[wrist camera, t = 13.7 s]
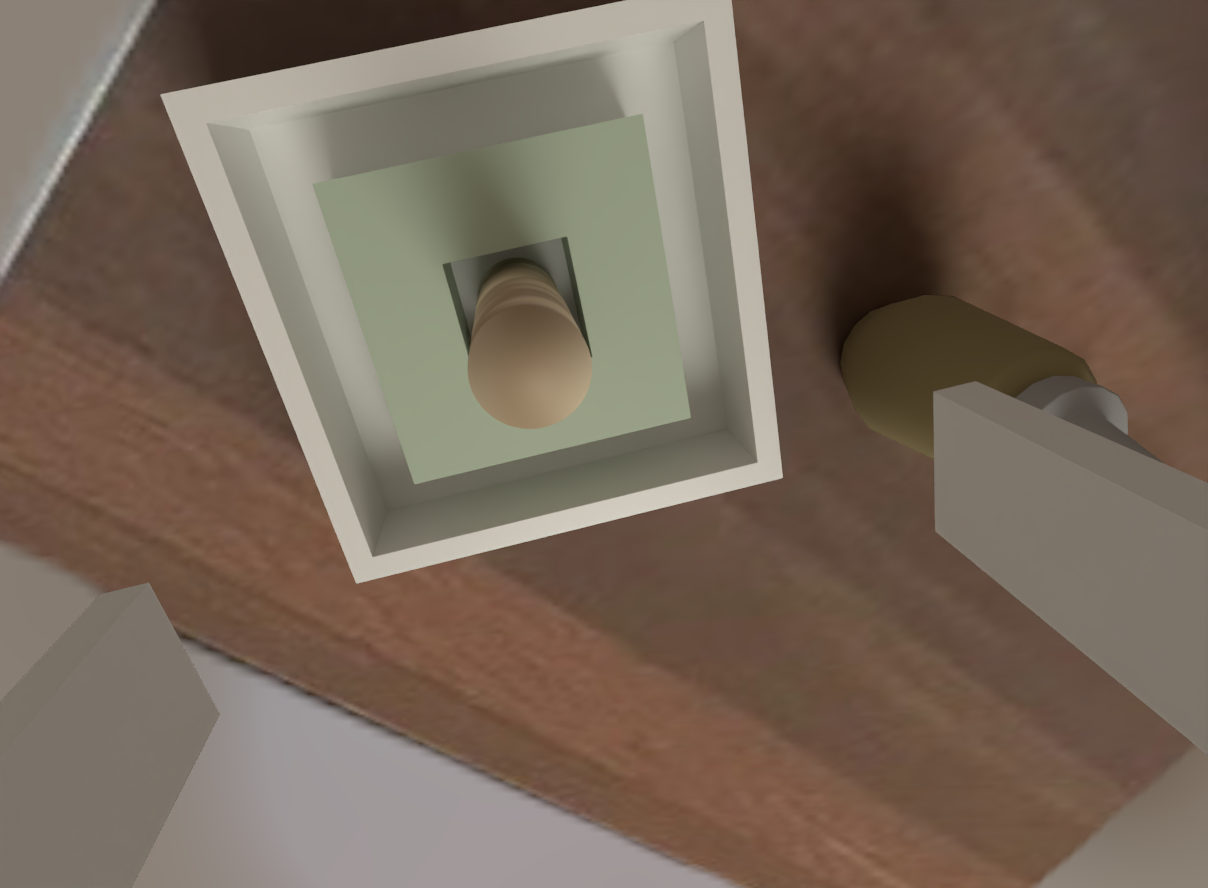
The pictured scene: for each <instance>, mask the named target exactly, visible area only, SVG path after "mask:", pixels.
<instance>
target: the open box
mask: <svg viewBox="0 0 1208 888" xmlns="http://www.w3.org/2000/svg"><path fill="white" fill-rule="evenodd" d="M160 95H161V97H162V100H163V102H164V105H165V107H166V110H167V112H168V115H169V117H170V120H171V122H172V125H173V127H174V130H175V132H176V135H177V137H178V140H179V142H180V145H181V147H182V150H183V152H184V155H185V157H186V160H187V162H188V165H189V167H190V170H191V172H192V175H193V177H194V180H195V182H196V185H197V187H198V190H199V192H200V195H201V197H202V200H203V202H204V205H205V207H206V210H207V212H208V215H209V217H210V220H211V222H212V225H213V227H214V230H215V232H216V235H217V237H218V240H219V242H220V245H221V247H222V250H223V252H224V255H225V257H226V260H227V262H228V265H229V267H230V270H231V272H232V275H233V277H234V280H235V282H236V285H237V287H238V290H239V292H240V295H241V297H242V300H243V302H244V305H245V307H246V310H247V312H248V315H249V317H250V320H251V322H252V325H253V327H254V330H255V332H256V335H257V337H258V340H259V342H260V345H261V347H262V350H263V352H264V355H265V357H266V359H267V362H268V364H269V367H270V369H271V372H272V374H273V377H274V379H275V382H276V384H277V387H278V389H279V392H280V394H281V397H282V399H283V402H284V404H285V407H286V409H287V412H288V414H289V417H290V419H291V422H292V424H293V427H294V429H295V432H296V434H297V437H298V439H299V442H300V444H301V447H302V449H303V452H304V454H305V457H306V459H307V462H308V464H309V467H310V469H311V472H312V474H313V477H314V479H315V482H316V484H317V487H318V489H319V492H320V494H321V497H322V499H323V502H324V504H325V507H326V509H327V512H328V514H329V517H330V519H331V522H332V524H333V527H334V529H335V532H336V534H337V537H338V539H339V542H340V544H341V547H342V549H343V552H344V554H345V557H346V559H347V562H348V564H349V567H350V569H351V572H352V574H353V577H354V579H355V582H356V584H357V583H361V582H365V581H369V580H373V579H377V578H381V577H385V576H389V575H393V574H397V573H401V572H405V571H409V570H413V569H417V568H421V567H426V566H430V565H434V564H438V563H442V562H446V561H450V560H454V559H458V558H462V557H466V556H470V555H474V554H478V553H482V552H486V551H490V550H494V549H498V548H502V547H506V546H510V545H514V544H518V543H522V542H526V541H530V540H534V539H539V538H543V537H547V536H551V535H555V534H559V533H563V532H567V531H571V530H575V529H579V528H583V527H587V526H591V525H595V524H599V523H603V522H607V521H611V520H615V519H619V518H623V517H627V516H631V515H635V514H639V513H643V512H647V511H651V510H656V509H660V508H664V507H668V506H672V505H676V504H680V503H684V502H688V501H692V500H696V499H700V498H704V497H708V496H712V495H716V494H720V493H724V492H728V491H732V490H736V489H740V488H744V487H748V486H752V485H756V484H760V483H764V482H769V481H773V480H777V479H781V478H783V475H782V465H781V456H780V447H779V438H778V428H777V419H776V410H775V400H774V391H773V382H772V373H771V363H770V354H769V345H768V335H767V326H766V317H765V307H764V298H763V289H762V280H761V270H760V261H759V252H758V242H757V233H756V224H755V215H754V205H753V196H752V187H751V177H750V168H749V159H748V150H747V140H746V131H745V122H744V112H743V103H742V94H741V85H740V75H739V66H738V57H737V47H736V38H735V29H734V19H733V10H732V1H731V0H625V1H620V2H615V3H610V4H605V5H600V6H595V7H590V8H585V9H580V10H575V11H570V12H565V13H561V14H556V15H551V16H546V17H541V18H536V19H531V20H526V21H521V22H516V23H511V24H506V25H501V26H496V27H491V28H486V29H481V30H477V31H472V32H467V33H462V34H457V35H452V36H447V37H442V38H437V39H432V40H427V41H422V42H417V43H412V44H407V45H402V46H397V47H393V48H388V49H383V50H378V51H373V52H368V53H363V54H358V55H353V56H348V57H343V58H338V59H333V60H328V61H323V62H318V63H313V64H309V65H304V66H299V67H294V68H289V69H284V70H279V71H274V72H269V73H264V74H259V75H254V76H249V77H244V78H239V79H234V80H229V81H225V82H220V83H215V84H210V85H205V86H200V87H195V88H190V89H185V90H180V91H175V92H170V93H165V94H160ZM639 114H643V119H644V125H645V131H646V138H647V144H648V150H649V157H650V163H651V169H652V175H653V182H654V188H655V194H656V201H657V207H658V213H659V219H660V226H661V232H662V238H663V245H664V251H665V257H666V263H667V270H668V276H669V282H670V289H671V295H672V301H673V308H674V314H675V320H676V326H677V333H678V339H679V345H680V352H681V358H682V364H683V370H684V377H685V383H686V389H687V396H688V402H689V408H690V414H691V418H689V419H685V420H680V421H676V422H672V423H668V424H664V425H660V426H656V427H651V428H647V429H643V430H639V431H635V432H631V433H626V434H622V435H618V436H614V437H610V438H606V439H601V440H597V441H593V442H589V443H585V444H581V445H577V446H572V447H568V448H564V449H560V450H556V451H552V452H547V453H543V454H539V455H535V456H531V457H527V458H522V459H518V460H514V461H510V462H506V463H502V464H498V465H493V466H489V467H485V468H481V469H477V470H473V471H468V472H464V473H460V474H456V475H452V476H448V477H443V478H439V479H435V480H431V481H427V482H423V483H419V484H414V482H413V479H412V476H411V473H410V470H409V467H408V464H407V461H406V458H405V455H404V453H403V450H402V447H401V444H400V441H399V438H398V435H397V432H396V429H395V426H394V423H393V420H392V417H391V414H390V411H389V408H388V405H387V402H386V399H385V397H384V394H383V391H382V388H381V385H380V382H379V379H378V376H377V373H376V370H375V367H374V364H373V361H372V358H371V355H370V352H369V349H368V346H367V344H366V341H365V338H364V335H363V332H362V329H361V326H360V323H359V320H358V317H357V314H356V311H355V308H354V305H353V302H352V299H351V296H350V293H349V290H348V288H347V285H346V282H345V279H344V276H343V273H342V270H341V267H340V264H339V261H338V258H337V255H336V252H335V249H334V246H333V243H332V240H331V237H330V234H329V232H328V229H327V226H326V223H325V220H324V217H323V214H322V211H321V208H320V205H319V202H318V199H317V196H316V193H315V190H314V187H313V184H314V183H319V182H324V181H328V180H333V179H338V178H343V177H347V176H352V175H357V174H361V173H366V172H371V171H376V170H380V169H385V168H390V167H394V166H399V165H404V164H408V163H413V162H418V161H423V160H427V159H432V158H437V157H441V156H446V155H451V154H455V153H460V152H465V151H470V150H474V149H479V148H484V147H488V146H493V145H498V144H502V143H507V142H512V141H517V140H521V139H526V138H531V137H535V136H540V135H545V134H549V133H554V132H559V131H564V130H568V129H573V128H578V127H582V126H587V125H592V124H597V123H601V122H606V121H611V120H615V119H620V118H625V117H629V116H634V115H639ZM509 258H525V259H529V260H532V261H534V262H536V263H538V264H540V265H541V266H542V267H543V268H545V269H546V270H547V272H548V273H549V274H550V275H551V277H552V279H553V280H554V282H555V284H556V286H557V288H558V290H559V292H560V294H561V296H562V298H563V299H564V301H565V303H566V305H567V307H568V309H569V311H570V313H571V315H572V317H573V319H574V320H575V322H576V324H577V326H578V328H579V330H580V332H581V328H580V323H579V319H578V314H577V309H576V305H575V300H574V295H573V291H572V286H571V281H570V277H569V272H568V267H567V263H566V258H565V253H564V248H563V244H562V239H561V238H558V239H553V240H549V241H544V242H540V243H535V244H531V245H526V246H522V247H517V248H513V249H508V250H504V251H499V252H495V253H490V254H486V255H481V256H477V257H472V258H468V259H463V260H459V261H454V262H450V263H451V267H452V270H453V274H454V278H455V281H456V285H457V288H458V292H459V296H460V299H461V303H462V306H463V310H464V313H465V317H466V321H467V324H468V328H469V331H470V335H471V337H472V331H473V324H474V318H475V311H476V305H477V298H478V292H479V287H480V283H481V281H482V279H483V277H484V275H485V274H486V272H487V271H488V270H489V269H490V268H491V267H492V266H494V265H495V264H497V263H498V262H500V261H502V260H505V259H509ZM581 334H582V333H581Z"/></svg>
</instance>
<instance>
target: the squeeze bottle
mask: <svg viewBox="0 0 1208 888" xmlns="http://www.w3.org/2000/svg"><path fill="white" fill-rule="evenodd" d="M840 366H841V371H842V375H843V380H844V383H845V386H846V388H847V391H848V393H849V396H850V398H851V401H852V403H853V406H854V408H855V410H856V411H857V413H858V414H859V415H860V417H861V418H862V419H863V420H864V422H865V423H866V424H867V426H868V427H869V428H870V429H871V430H873V431H875V432H877V433H879V434H882V435H884V436H886V437H888V438H890V439H892V440H894V441H896V442H899V443H901V444H903V445H905V446H907V447H909V448H911V449H913V450H915V451H918V452H920V453H922V454H924V455H926V456H928V457H930V458H932V459H934V415H933V391H937V390H941V389H946V388H950V387H954V386H958V385H962V384H966V383H970V382H974V381H977V382H979V383H981V384H983V385H986V386H988V387H990V388H993V389H995V390H997V391H999V392H1002V393H1004V394H1006V395H1009V396H1011V397H1013V398H1015V399H1018V400H1020V401H1022V402H1024V403H1027V404H1029V405H1031V406H1034V407H1036V408H1038V409H1040V410H1043V411H1045V412H1047V413H1050V414H1052V415H1054V416H1056V417H1059V418H1061V419H1063V420H1065V421H1068V422H1070V423H1072V424H1075V425H1077V426H1079V427H1081V428H1084V429H1086V430H1088V431H1091V432H1093V433H1095V434H1097V435H1100V436H1102V437H1104V438H1106V439H1109V440H1111V441H1113V442H1116V443H1118V444H1120V445H1122V446H1125V447H1127V448H1129V449H1131V450H1134V451H1136V452H1138V453H1141V454H1143V455H1145V456H1147V457H1150V458H1152V459H1154V460H1157V461H1159V462H1161V463H1163V462H1162V461H1160V460H1159V459H1158V458H1156V457H1155V456H1154V455H1153V454H1151V453H1150V452H1149V451H1147V450H1146V449H1145V448H1143V447H1142V446H1141V445H1139V444H1138V443H1137V442H1136V441H1134V440H1133V439H1132V438H1130V437H1129V436H1128V435H1127V434H1128V420H1127V410H1126V408H1125V406H1124V405H1123V403H1122V401H1121V399H1120V397H1119V396H1118V395H1117V394H1115V393H1113V392H1112V391H1110V390H1108V389H1106V388H1104V387H1103V386H1100V385H1097V381H1096V379H1095V377H1094V376H1093V374H1092V372H1091V370H1090V369H1089V367H1088V365H1087V363H1086V362H1085V360H1084V359H1082V358H1081V357H1079V356H1077V355H1075V354H1074V353H1072V352H1070V351H1068V350H1067V349H1065V348H1063V347H1061V346H1059V345H1057V344H1054V343H1052V342H1050V341H1048V340H1046V339H1044V338H1042V337H1039V336H1037V335H1035V334H1033V333H1031V332H1029V331H1027V330H1025V329H1022V328H1020V327H1018V326H1016V325H1014V324H1012V323H1010V322H1007V321H1005V320H1003V319H1001V318H999V317H997V316H995V315H992V314H990V313H988V312H986V311H984V310H982V309H980V308H977V307H975V306H973V305H971V304H969V303H967V302H965V301H962V300H960V299H958V298H956V297H954V296H939V295H923V296H919V297H915V298H911V299H908V300H904V301H900V302H896V303H893V304H889V305H886V306H884V307H881V308H878V309H876V310H873V311H870V312H869V313H868V314H867V315H866V316H865V317H863V318H862V319H861V320H860V321H859V322H858V323H856V324H855V325H854V327H853V328H852V330H851V332H850V334H849V335H848V337H847V339H846V340H845V342H844V344H843V350H842V355H841V360H840ZM1163 464H1164V463H1163Z"/></svg>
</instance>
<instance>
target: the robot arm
mask: <svg viewBox="0 0 1208 888" xmlns="http://www.w3.org/2000/svg"><path fill="white" fill-rule="evenodd" d="M933 415H934V485H935V531H936V532H937V533H938V534H939V535H940V536H942V537H943V538H944V539H945V540H947V541H948V542H949V543H950V544H951V545H953V546H954V547H955V548H956V549H958V550H959V551H960V552H961V553H962V554H964V555H965V556H966V557H967V558H968V559H970V560H971V561H972V562H973V563H975V564H976V565H977V566H978V567H979V568H981V569H982V570H983V571H984V572H986V573H987V574H988V575H989V576H990V577H992V578H993V579H994V580H995V581H996V582H998V583H999V584H1000V585H1001V586H1003V587H1004V588H1005V589H1006V590H1007V591H1009V592H1010V593H1011V594H1012V595H1013V596H1015V597H1016V598H1017V599H1018V600H1020V601H1021V602H1022V603H1023V604H1024V605H1026V606H1027V607H1028V608H1029V609H1031V610H1032V611H1033V612H1034V613H1035V614H1037V615H1038V616H1039V617H1040V618H1041V619H1043V620H1044V621H1045V622H1046V623H1048V624H1049V625H1050V626H1051V627H1052V628H1054V629H1055V630H1056V631H1057V632H1059V633H1060V634H1061V635H1062V636H1063V637H1065V638H1066V639H1067V640H1068V641H1069V642H1071V643H1072V644H1073V645H1074V646H1076V647H1077V648H1078V649H1079V650H1080V651H1082V652H1083V653H1084V654H1085V655H1087V656H1088V657H1089V658H1090V659H1091V660H1093V661H1094V662H1095V663H1096V664H1097V665H1099V666H1100V667H1101V668H1102V669H1104V670H1105V671H1106V672H1107V673H1108V674H1110V675H1111V676H1112V677H1113V678H1114V679H1116V680H1117V681H1118V682H1119V683H1121V684H1122V685H1123V686H1124V687H1125V688H1127V689H1128V690H1129V691H1130V692H1132V693H1133V694H1134V695H1135V696H1136V697H1138V698H1139V699H1140V700H1141V701H1142V702H1144V703H1145V704H1146V705H1147V706H1149V707H1150V708H1151V709H1152V710H1153V711H1155V712H1156V713H1157V714H1158V715H1160V716H1161V717H1162V718H1163V719H1164V720H1166V721H1167V722H1168V723H1169V724H1170V725H1172V726H1173V727H1174V728H1175V729H1177V730H1178V731H1179V732H1180V733H1181V734H1183V735H1184V736H1185V737H1186V738H1188V739H1189V740H1190V741H1191V742H1192V743H1194V744H1195V745H1196V746H1197V747H1199V748H1200V749H1201V750H1202V751H1203V752H1205V753H1206V754H1207V755H1208V483H1207V482H1204V481H1202V480H1200V479H1198V478H1195V477H1193V476H1191V475H1188V474H1186V473H1184V472H1182V471H1179V470H1177V469H1175V468H1172V467H1170V466H1168V465H1166V464H1163V463H1161V462H1159V461H1157V460H1154V459H1152V458H1150V457H1147V456H1145V455H1143V454H1141V453H1138V452H1136V451H1134V450H1131V449H1129V448H1127V447H1125V446H1122V445H1120V444H1118V443H1116V442H1113V441H1111V440H1109V439H1106V438H1104V437H1102V436H1100V435H1097V434H1095V433H1093V432H1091V431H1088V430H1086V429H1084V428H1081V427H1079V426H1077V425H1075V424H1072V423H1070V422H1068V421H1065V420H1063V419H1061V418H1059V417H1056V416H1054V415H1052V414H1050V413H1047V412H1045V411H1043V410H1040V409H1038V408H1036V407H1034V406H1031V405H1029V404H1027V403H1024V402H1022V401H1020V400H1018V399H1015V398H1013V397H1011V396H1009V395H1006V394H1004V393H1002V392H999V391H997V390H995V389H993V388H990V387H988V386H986V385H983V384H981V383H979V382H977V381H974V382H970V383H966V384H962V385H958V386H954V387H950V388H946V389H941V390H937V391H933ZM219 715H220V713H219V712H218V710H217V708H216V707H215V704H214V703H213V701H212V699H211V697H210V695H209V693H208V691H207V689H206V687H205V686H204V684H203V682H202V680H201V678H200V676H199V675H198V673H197V671H196V669H195V667H194V665H193V663H192V662H191V660H190V658H189V656H188V654H187V652H186V650H185V649H184V647H183V645H182V643H181V641H180V639H179V637H178V636H177V634H176V632H175V630H174V628H173V626H172V624H171V623H170V621H169V619H168V617H167V615H166V613H165V612H164V610H163V608H162V606H161V604H160V602H159V600H158V599H157V597H156V595H155V593H154V591H153V589H152V587H151V586H150V584H149V583H146V584H141V585H137V586H133V587H129V588H125V589H121V590H117V591H113V592H109V593H105V594H100V595H99V596H98V597H97V598H96V599H95V600H94V601H93V602H92V604H91V605H90V606H89V607H88V608H87V609H86V610H85V611H84V612H83V613H82V615H81V616H79V617H78V618H77V620H76V621H75V622H74V623H73V624H72V625H71V626H70V627H69V628H68V629H67V630H66V631H65V632H64V634H63V635H62V636H61V637H60V638H59V639H58V640H57V641H56V642H55V643H54V644H53V645H52V646H51V647H50V648H49V649H48V651H47V652H46V653H45V654H44V655H43V656H42V657H41V658H40V659H39V660H38V661H37V662H36V663H35V664H34V666H33V667H32V668H31V669H30V670H29V671H28V672H27V673H26V674H25V675H24V676H23V677H22V678H21V679H20V681H19V682H18V683H17V684H16V685H15V686H14V687H13V688H12V689H11V690H10V691H9V692H8V693H7V694H6V696H5V697H4V698H3V699H2V700H1V701H0V888H132V886H133V884H134V882H135V880H136V878H137V876H138V874H139V872H140V870H141V869H142V867H143V865H144V863H145V861H146V858H147V857H148V855H149V853H150V851H151V849H152V847H153V845H154V843H155V841H156V839H157V837H158V835H159V833H160V831H161V829H162V827H163V825H164V823H165V821H166V819H167V817H168V815H169V813H170V812H171V810H172V807H173V806H174V804H175V801H176V800H177V798H178V796H179V794H180V792H181V790H182V788H183V786H184V784H185V782H186V780H187V778H188V776H189V774H190V772H191V770H192V768H193V766H194V764H195V762H196V760H197V758H198V756H199V755H200V752H201V750H202V748H203V747H204V745H205V743H206V741H207V739H208V737H209V735H210V733H211V731H212V729H213V727H214V725H215V723H216V721H217V719H218V717H219Z"/></svg>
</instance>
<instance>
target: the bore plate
mask: <svg viewBox="0 0 1208 888" xmlns="http://www.w3.org/2000/svg"><path fill="white" fill-rule="evenodd" d="M313 187H314V190H315V193H316V196H317V199H318V202H319V205H320V208H321V211H322V214H323V217H324V220H325V223H326V226H327V229H328V232H329V234H330V237H331V240H332V243H333V246H334V249H335V252H336V255H337V258H338V261H339V264H340V267H341V270H342V273H343V276H344V279H345V282H346V285H347V288H348V290H349V293H350V296H351V299H352V302H353V305H354V308H355V311H356V314H357V317H358V320H359V323H360V326H361V329H362V332H363V335H364V338H365V341H366V344H367V346H368V349H369V352H370V355H371V358H372V361H373V364H374V367H375V370H376V373H377V376H378V379H379V382H380V385H381V388H382V391H383V394H384V397H385V399H386V402H387V405H388V408H389V411H390V414H391V417H392V420H393V423H394V426H395V429H396V432H397V435H398V438H399V441H400V444H401V447H402V450H403V453H404V455H405V458H406V461H407V464H408V467H409V470H410V473H411V476H412V479H413V482H414V484H419V483H423V482H427V481H431V480H435V479H439V478H443V477H448V476H452V475H456V474H460V473H464V472H468V471H473V470H477V469H481V468H485V467H489V466H493V465H498V464H502V463H506V462H510V461H514V460H518V459H522V458H527V457H531V456H535V455H539V454H543V453H547V452H552V451H556V450H560V449H564V448H568V447H572V446H577V445H581V444H585V443H589V442H593V441H597V440H601V439H606V438H610V437H614V436H618V435H622V434H626V433H631V432H635V431H639V430H643V429H647V428H651V427H656V426H660V425H664V424H668V423H672V422H676V421H680V420H685V419H689V418H691V414H690V408H689V402H688V396H687V389H686V383H685V377H684V370H683V364H682V358H681V352H680V345H679V339H678V333H677V326H676V320H675V314H674V308H673V301H672V295H671V289H670V282H669V276H668V270H667V263H666V257H665V251H664V245H663V238H662V232H661V226H660V219H659V213H658V207H657V201H656V194H655V188H654V182H653V175H652V169H651V163H650V157H649V150H648V144H647V138H646V131H645V125H644V119H643V114H639V115H634V116H629V117H625V118H620V119H615V120H611V121H606V122H601V123H597V124H592V125H587V126H582V127H578V128H573V129H568V130H564V131H559V132H554V133H549V134H545V135H540V136H535V137H531V138H526V139H521V140H517V141H512V142H507V143H502V144H498V145H493V146H488V147H484V148H479V149H474V150H470V151H465V152H460V153H455V154H451V155H446V156H441V157H437V158H432V159H427V160H423V161H418V162H413V163H408V164H404V165H399V166H394V167H390V168H385V169H380V170H376V171H371V172H366V173H361V174H357V175H352V176H347V177H343V178H338V179H333V180H328V181H324V182H319V183H314V184H313ZM558 238H561V239H562V244H563V248H564V253H565V258H566V263H567V267H568V272H569V277H570V281H571V286H572V291H573V295H574V300H575V305H576V309H577V314H578V319H579V323H580V328H581V333H582V336H583V338H584V339H585V341H586V344H587V346H588V348H589V351H590V355H591V360H592V377H591V382H590V386H589V389H588V391H587V394H586V396H585V397H584V399H583V401H582V402H581V404H580V405H579V406H578V407H577V408H576V409H575V411H574V412H573V413H571V414H570V415H569V416H568V417H566V418H565V419H563V420H561V421H560V422H558V423H555V424H553V425H550V426H547V427H543V428H537V429H523V428H517V427H512V426H509V425H506V424H504V423H502V422H500V421H498V420H497V419H495V418H493V417H492V416H491V415H490V414H488V413H487V412H486V411H485V410H484V409H483V408H482V407H481V406H480V404H479V403H478V401H477V400H476V398H475V396H474V394H473V392H472V390H471V387H470V384H469V379H468V370H467V368H468V357H469V351H470V344H471V335H470V331H469V328H468V324H467V321H466V317H465V313H464V310H463V306H462V303H461V299H460V296H459V292H458V288H457V285H456V281H455V278H454V274H453V270H452V267H451V263H450V262H454V261H459V260H463V259H468V258H472V257H477V256H481V255H486V254H490V253H495V252H499V251H504V250H508V249H513V248H517V247H522V246H526V245H531V244H535V243H540V242H544V241H549V240H553V239H558Z"/></svg>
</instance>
